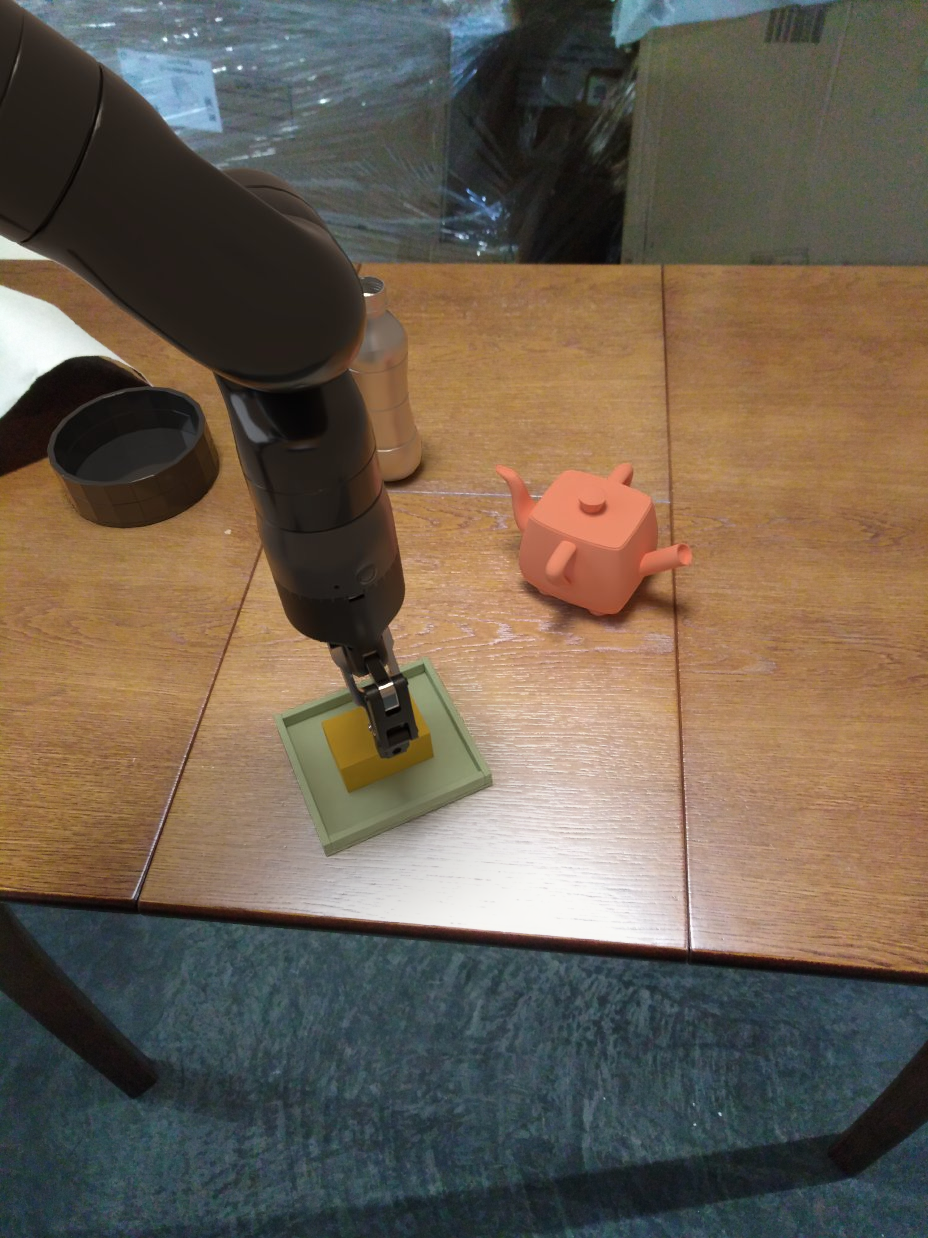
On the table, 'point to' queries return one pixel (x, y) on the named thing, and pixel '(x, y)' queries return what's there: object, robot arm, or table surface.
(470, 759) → the tray
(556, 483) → the teapot
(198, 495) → the bowl
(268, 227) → the robot arm
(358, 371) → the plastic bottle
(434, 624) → the table surface
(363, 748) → the sponge
